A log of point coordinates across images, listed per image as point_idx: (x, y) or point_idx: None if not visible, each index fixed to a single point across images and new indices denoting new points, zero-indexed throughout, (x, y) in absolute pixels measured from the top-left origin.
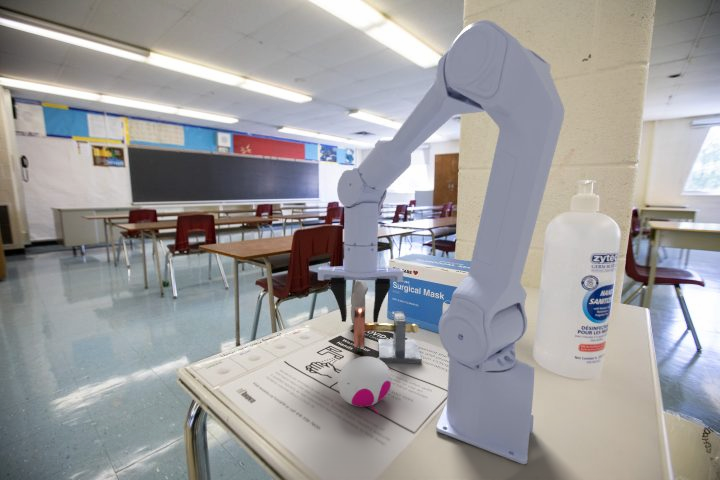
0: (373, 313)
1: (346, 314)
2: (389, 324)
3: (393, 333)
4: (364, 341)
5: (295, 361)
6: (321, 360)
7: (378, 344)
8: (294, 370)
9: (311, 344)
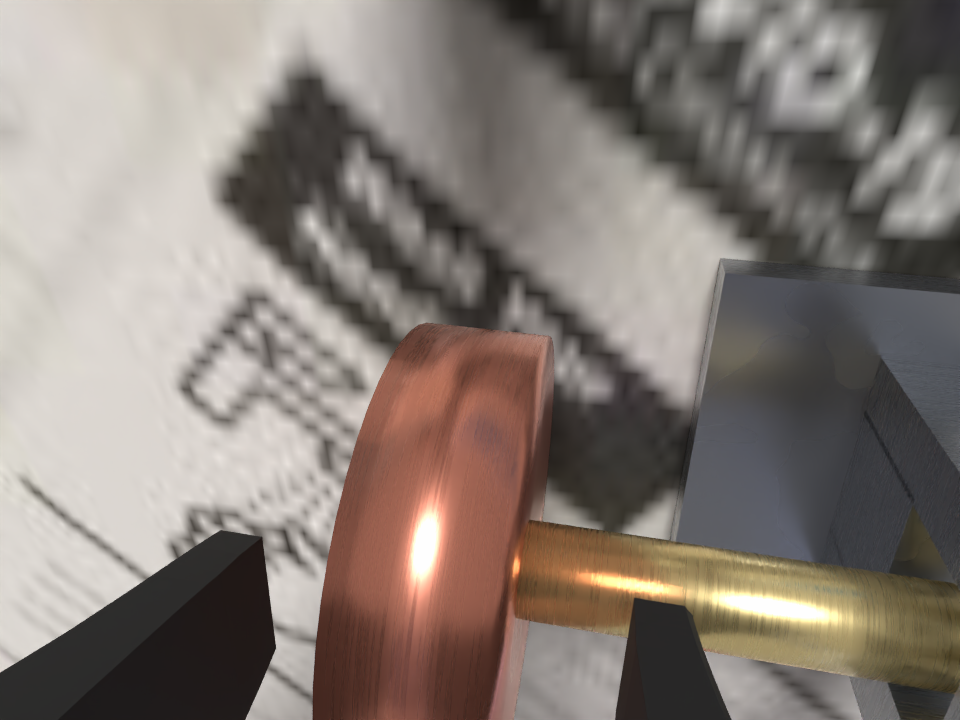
0: (626, 714)
1: (240, 585)
2: (848, 665)
3: (913, 417)
4: (522, 665)
5: (87, 490)
6: (243, 497)
7: (711, 316)
8: (124, 577)
9: (93, 259)
